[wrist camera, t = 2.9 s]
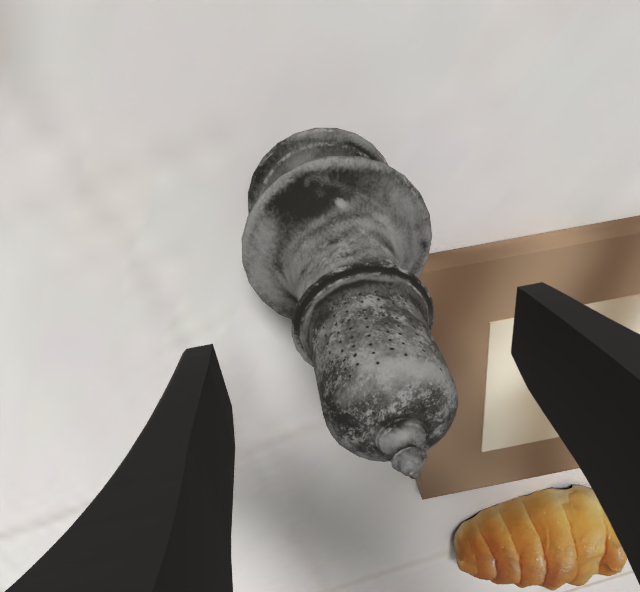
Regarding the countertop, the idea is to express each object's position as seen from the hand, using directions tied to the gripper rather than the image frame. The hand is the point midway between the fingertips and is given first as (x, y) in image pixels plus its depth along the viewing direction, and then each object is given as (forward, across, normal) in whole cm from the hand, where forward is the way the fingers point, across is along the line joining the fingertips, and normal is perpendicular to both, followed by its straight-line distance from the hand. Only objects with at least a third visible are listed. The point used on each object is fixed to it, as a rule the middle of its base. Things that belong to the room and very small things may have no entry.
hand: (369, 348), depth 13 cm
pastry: (+9, -10, +23) cm, 27 cm away
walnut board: (+8, -10, +10) cm, 16 cm away
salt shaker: (+8, 0, 0) cm, 9 cm away
